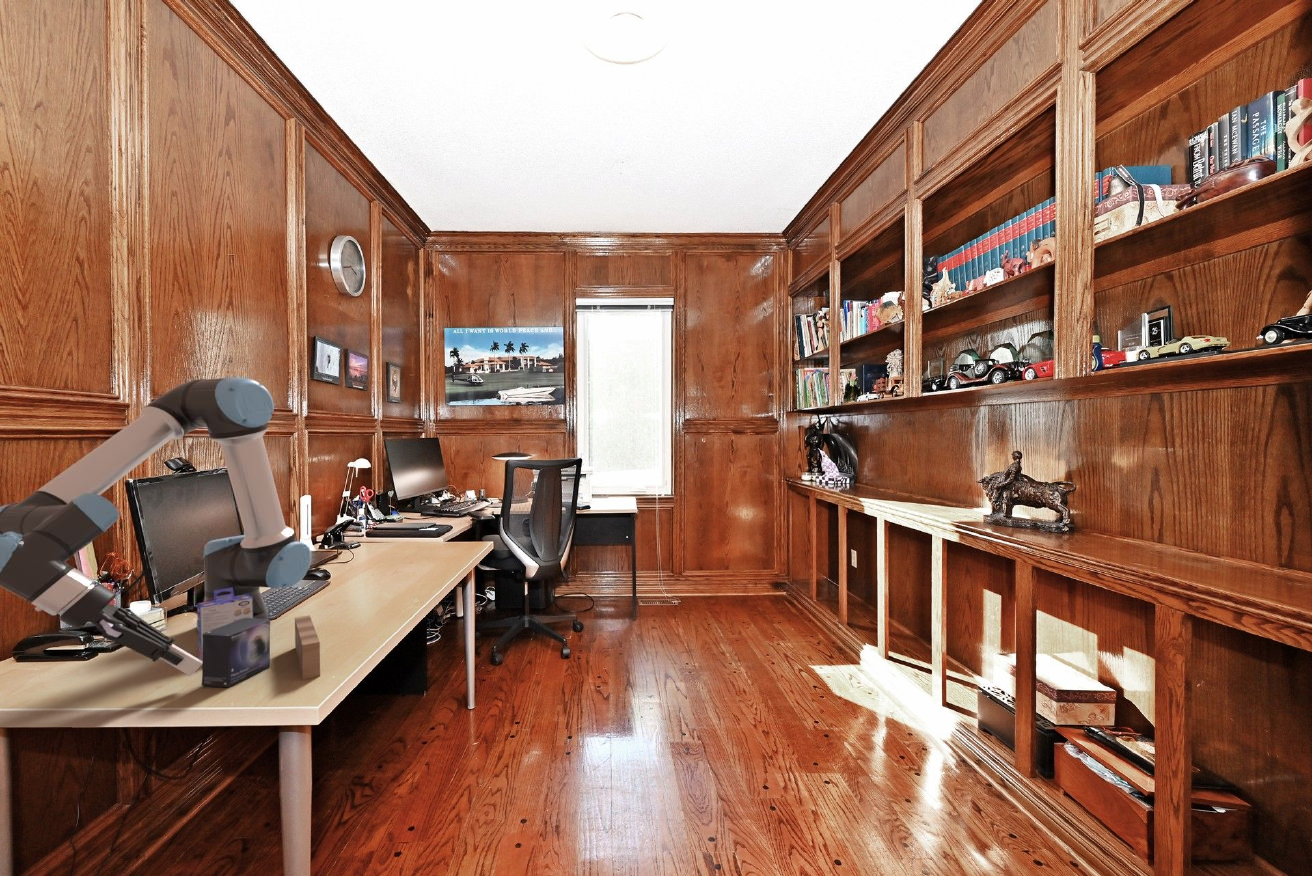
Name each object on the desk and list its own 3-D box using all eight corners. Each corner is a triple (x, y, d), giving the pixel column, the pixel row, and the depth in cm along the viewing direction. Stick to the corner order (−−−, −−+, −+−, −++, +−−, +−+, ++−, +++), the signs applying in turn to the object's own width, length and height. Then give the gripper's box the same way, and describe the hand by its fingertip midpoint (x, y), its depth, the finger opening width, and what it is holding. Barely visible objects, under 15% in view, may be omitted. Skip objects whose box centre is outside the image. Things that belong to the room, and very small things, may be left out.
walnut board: (295, 647, 134) (294, 617, 134) (310, 644, 136) (309, 615, 136) (303, 679, 116) (302, 645, 116) (320, 676, 118) (319, 642, 118)
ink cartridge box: (249, 644, 137) (248, 583, 137) (255, 649, 133) (253, 587, 133) (196, 656, 130) (195, 592, 129) (201, 662, 126) (200, 596, 126)
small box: (229, 688, 112) (229, 635, 112) (200, 686, 113) (199, 633, 113) (272, 666, 123) (271, 617, 123) (245, 665, 124) (244, 616, 124)
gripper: (66, 608, 108) (182, 674, 118) (46, 626, 97) (175, 698, 107) (104, 575, 111) (214, 642, 121) (89, 590, 100) (211, 662, 110)
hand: (196, 668), depth 114 cm, fingers closed
